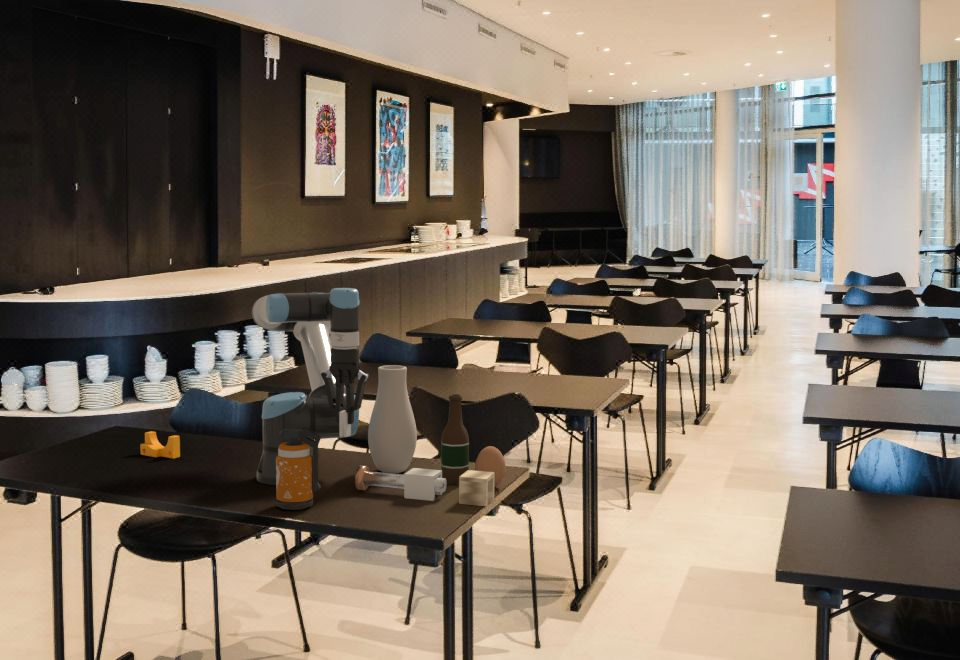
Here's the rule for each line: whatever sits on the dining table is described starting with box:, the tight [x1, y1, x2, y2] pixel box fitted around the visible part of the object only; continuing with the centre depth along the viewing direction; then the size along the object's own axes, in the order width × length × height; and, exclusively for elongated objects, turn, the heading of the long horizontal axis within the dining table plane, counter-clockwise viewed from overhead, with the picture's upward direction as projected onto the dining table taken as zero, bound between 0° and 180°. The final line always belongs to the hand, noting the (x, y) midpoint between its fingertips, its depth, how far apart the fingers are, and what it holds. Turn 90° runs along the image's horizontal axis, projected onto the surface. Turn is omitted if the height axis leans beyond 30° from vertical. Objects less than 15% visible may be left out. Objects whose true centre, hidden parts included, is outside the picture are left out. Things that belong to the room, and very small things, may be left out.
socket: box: [458, 469, 495, 507], centre depth 265 cm, size 7×7×7 cm
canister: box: [275, 427, 322, 511], centre depth 258 cm, size 9×11×20 cm
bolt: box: [354, 465, 448, 493], centre depth 271 cm, size 24×6×6 cm, turn 73°
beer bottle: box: [440, 393, 470, 485], centre depth 284 cm, size 8×8×24 cm
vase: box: [367, 364, 418, 474], centre depth 293 cm, size 14×14×30 cm
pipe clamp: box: [139, 430, 181, 459], centre depth 311 cm, size 12×4×6 cm, turn 59°
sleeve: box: [403, 467, 443, 502], centre depth 270 cm, size 8×7×6 cm
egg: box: [474, 445, 507, 488], centre depth 279 cm, size 8×8×11 cm
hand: (345, 435), depth 275 cm, fingers closed
